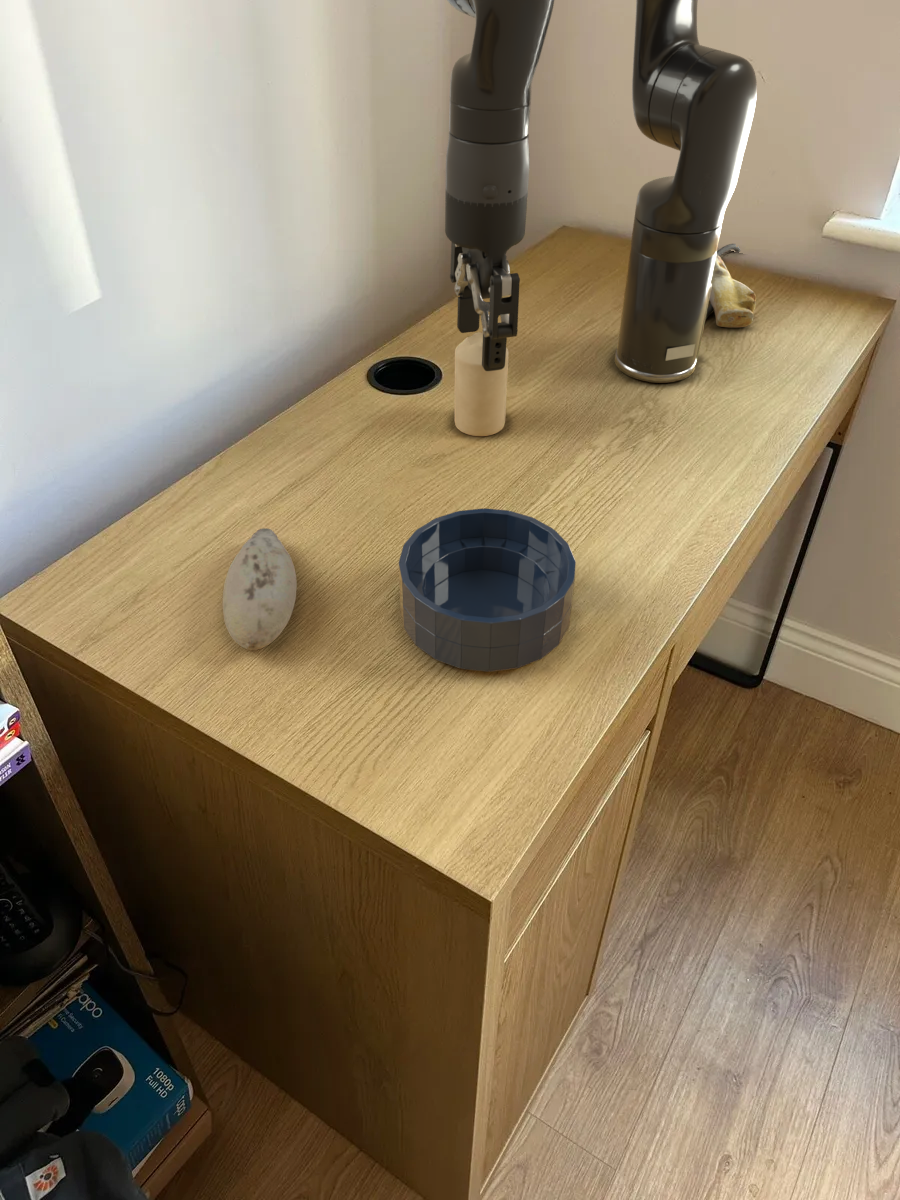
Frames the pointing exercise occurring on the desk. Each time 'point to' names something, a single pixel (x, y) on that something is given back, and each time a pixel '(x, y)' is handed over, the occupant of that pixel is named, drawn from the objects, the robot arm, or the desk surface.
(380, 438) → the desk surface
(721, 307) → the figurine
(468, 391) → the candle
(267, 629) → the decorative stone
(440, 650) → the bowl
